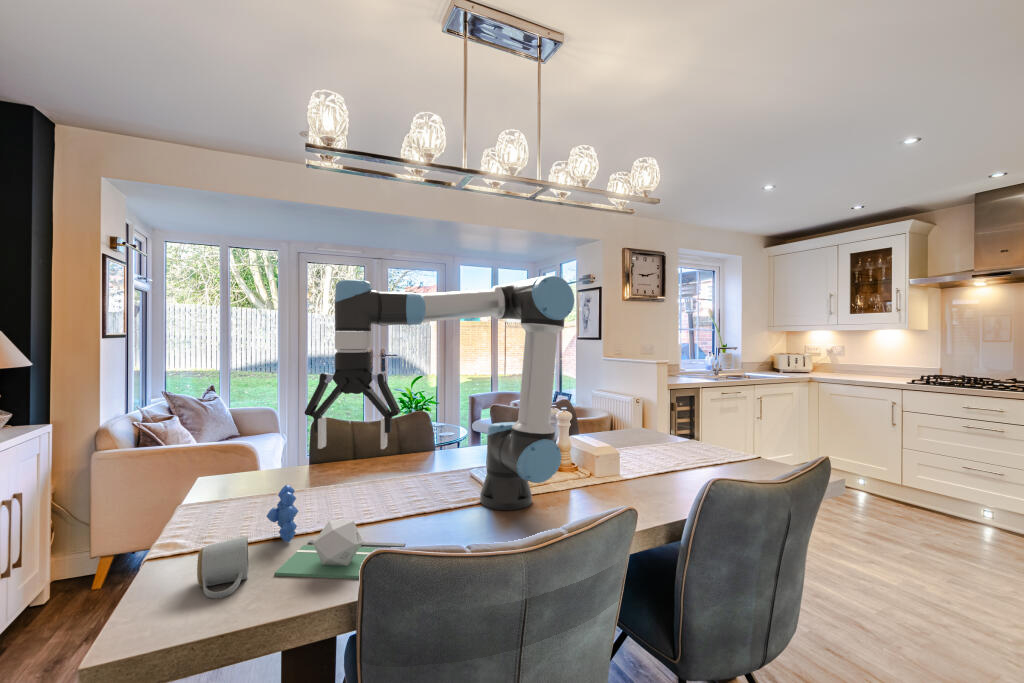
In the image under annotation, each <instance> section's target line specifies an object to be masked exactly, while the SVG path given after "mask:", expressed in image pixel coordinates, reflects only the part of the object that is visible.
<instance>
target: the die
mask: <svg viewBox="0 0 1024 683" xmlns="http://www.w3.org/2000/svg"><path fill="white" fill-rule="evenodd" d="M360 534H361V533H360V532H359V530H358V527H357V525H356V523H355V520H328V521H327V523H326V524H325V526H324V527H323V529H322V530H321V531H320V532H319V534H318V535H317V537H316V538H315V541H314V542H313V544H312V545H314V547H315V549H316V551H317V554H318V556H319V558H320V561H321V563H322V565H335V566H348V565H349V563H350V562H351V560H352V559H353V557H354V556H355V554H356V553H357V551H358V549H359V548H360V547H362V546H361V545H362V543H363V542H364V541H363V540H362V537H361V535H360Z"/></svg>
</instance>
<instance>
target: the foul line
mask: <svg viewBox="0 0 1024 683" xmlns="http://www.w3.org/2000/svg"><path fill="white" fill-rule="evenodd" d="M314 541H315V540H314V539H311V540H308V541H307V545H314V544H313V542H314ZM362 542H363V543H362V545H361V546H360V547H381V548H403V547H402V546H404V547H405V546H406V543H403V542H402V543H400V542H399V543H398V542H396V543H395V542H394V543H393V542H376V541H375V542H372V541H371V542H369V541H367V542H366V541H362Z"/></svg>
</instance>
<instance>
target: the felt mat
mask: <svg viewBox="0 0 1024 683" xmlns="http://www.w3.org/2000/svg"><path fill="white" fill-rule="evenodd" d="M378 548H379V547H374V546H360V548H359V549H358V551H357V553H356V554H355V556H354V557H353V559H352V560H351V562H350V563H349V565H348V566H335V565H322V563H321V561H320V558H319V556H318V554H317V551H316V549H315V547H314V544H303V545H302V546H301V547H299V549H297V550H296V552H294V553H293V555H291V556H290V558H288V559H287V561H284V563H283V564H282V565H281V566H280V567H279V568H277V570H276V571H275V572H274V576H275V577H296V578H297V577H299V578H302V577H305V578H325V579H327V578H328V579H351V580H352V579H353V580H360V579H359V570H360V566H361V563H362V562H363V560H364V558H365V557H366V556H367V555H368V554H369V553H370V552H372V551H373V550H375V549H378Z"/></svg>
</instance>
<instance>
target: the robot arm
mask: <svg viewBox="0 0 1024 683" xmlns="http://www.w3.org/2000/svg"><path fill="white" fill-rule="evenodd" d="M334 290H335V292H334V303H333V304H334V349H335V350H337V352H335V353H334V373H333V374H332V373H330V372H323V373H320V374H319V379H318V380H319V381H318V385H317V386H316V387H315V388H316V389H315V390H314V392H313V394H312V396H311V398H310V401H309V402H308V405H307V406H306V408H305V409H304V410H305V411H304V414H305V416H310V417H312V418H313V432H314V433H315V434H316V433H317V449H319V450H320V449H321V450H322V449H324V448H325V447H326V446H327V416H324V414H325V413H326V412H327V411H328V410H329V408H330V407H331V406H332V405H333V403H335V402H336V400H337V399H338V398H339V396H340V395H341V394H342V393H343V394H344V395H349V394H354V395H359V394H363V395H364V396H366V397H367V399H368V400H369V401H370V402H371V403H372V405H373V406H374V407H375V408H376V409H377V410H378V412H379V413H380V414H381V415H382V418H380V450H385V449H386V448H387V447H388V434H390V433H391V432H392V430H393V417H396V416H398V415H400V413H401V409H400V406H399V405H398V403H397V400H396V399H395V396H394V395H393V393H392V391H391V389H390V387H389V385H388V383H387V374H386V373H384V372H381V373H376V374H373V373H372V353H371V352H370V351H369V350H371V349H372V325H378V326H381V327H386V326H387V327H388V326H414V325H415V326H417V325H418V326H419V325H422V323H426V322H428V323H429V322H439V321H452V320H462V319H464V320H465V319H474V318H475V319H476V318H486V317H488V318H489V317H493V318H494V319H495V320H505V319H506V320H520V326H521V327H522V328H523V330H524V332H525V333H524V334H525V335H524V347H523V359H522V368H521V369H522V371H521V382H520V384H521V385H520V392H519V393H520V394H519V407H518V416H517V417H518V419H517V421H508V422H506V421H504V422H495V423H491V424H489V426H488V428H487V435H486V438H487V442H486V447H487V448H486V475H485V479H484V481H483V485H482V488H481V490H480V493H479V494H480V495H479V501H480V503H481V505H483V506H484V507H486V508H487V509H488V508H489V509H493V510H498V511H516V510H518V511H519V510H522V509H526V508H528V507H529V506H531V505H532V502H533V494H532V490H531V487H530V484H529V482H530V483H533V484H541V483H544V482H546V481H548V480H550V479H551V478H552V477H553V475H555V474H556V473H557V472H558V470H559V468H560V466H561V463H562V453H561V452H562V451H561V449H560V447H559V446H558V444H557V443H556V442H555V436H556V429H555V428H554V427H553V425H551V419H552V416H551V415H552V405H553V403H552V402H553V394H554V391H553V390H554V378H555V371H556V370H555V367H556V357H557V354H556V353H557V346H558V345H557V343H558V334H559V333H560V332H561V331H562V330H564V328H565V319H566V318H567V317H569V315H570V314H571V313H572V311H573V309H574V306H575V296H574V292H573V288H572V287H571V285H570V284H569V283H568V282H567V281H566V280H565V279H564V278H563V277H561V276H558V275H553V274H552V275H540V276H537V277H531V278H528V279H527V278H526V279H523V280H519V281H516V282H512V283H506V284H501V285H494V286H492V287H491V288H490V289H478V290H460V291H459V290H457V291H446V292H445V291H444V292H442V291H441V292H428V293H418V292H417V293H416V292H411V291H382V290H381V291H379V290H375V289H374V290H373V288H372V283H371V282H370V281H368V280H360V279H343V280H339V281H337V283H336V284H335V289H334ZM332 380H333V382H334V383H335V385H336V386H335V387H334V389H333V390H332V391H331V393H330V394H329V395H328V396H327V398H326V399H325V400H324V401H323V402H322V403H321V405H320V406H319V403H320V402H321V400H322V397H323V396H324V394H325V392H326V390H327V388H328V386H329V384H330V383H332ZM372 381H374V382H375V384H377V385H378V388H379V390H380V392H381V394H382V396H383V398H384V400H385V402H386V403H384V401H383V400H382V398H380V397H379V395H378V394H377V393H376V392H375V391H374V388H373V386H371V383H372ZM386 404H387V405H386ZM318 406H319V407H318Z"/></svg>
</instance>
